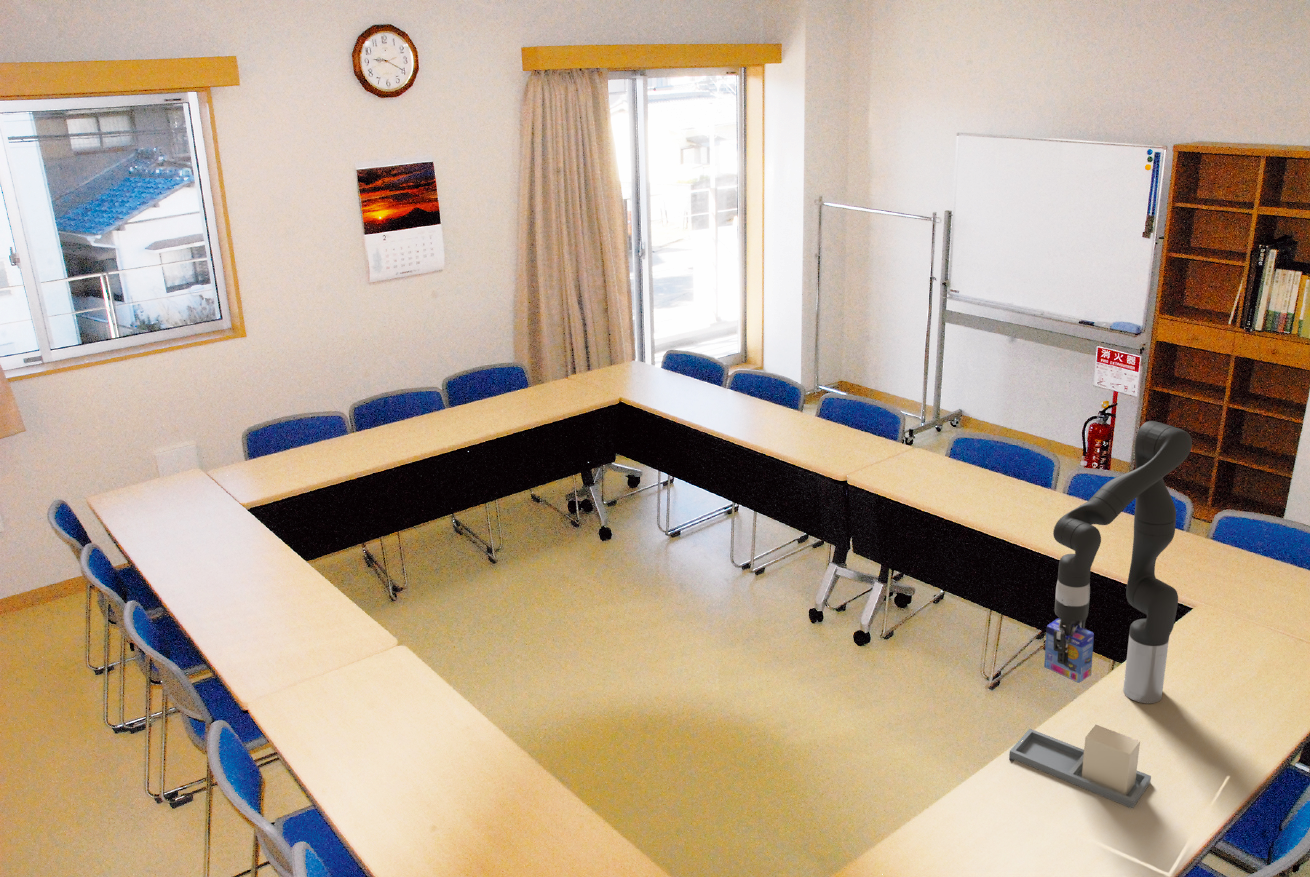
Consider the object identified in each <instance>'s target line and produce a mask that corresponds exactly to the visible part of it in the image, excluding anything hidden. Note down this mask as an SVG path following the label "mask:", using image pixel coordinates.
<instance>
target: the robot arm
mask: <svg viewBox="0 0 1310 877" xmlns="http://www.w3.org/2000/svg"><path fill="white" fill-rule="evenodd" d="M1192 439H1193V438H1192V436H1191V435H1190V433H1188V431H1185V430H1183V429H1182V428H1179V427H1175V426H1173V425H1171V424H1170V425H1168V424H1166V423H1162V422H1158V421H1157V420H1156V421H1154V420H1149V421H1148V420H1147V421H1146V422H1144V423H1143V424H1142V425H1141V426H1140V428H1138V431H1137V433H1136V437H1135V440H1134V458H1135V460H1134V461H1135V462H1134V463H1135V468H1134V470H1131V471H1129V472H1126V473H1124V474H1122V475H1120V476H1117V477H1115V478H1113V479H1110V480H1109V481H1107V482H1106V483H1105V484H1103V485H1102V486H1101V487H1100V488H1099V489H1098V490H1097V491H1096V492H1095V493H1094V494H1093V496H1091V497H1089V499H1088V500H1087V501H1086V502H1085V503H1083V504H1080V505H1079V506H1078V507H1075V508H1074V509H1072V510H1070V511H1069V512H1067V513H1065V514H1063V516H1061V517H1060V518H1059V519H1058V521H1057V522H1056V524H1055V525H1054V527H1053V538H1054V540H1055V541H1056V542H1057V543H1058V544H1060V545H1062V546H1064V547H1066V548H1068V549H1071V550H1072V551H1074V552H1075V553H1067V554H1064V555H1062V556H1061V557H1060V558H1059V563H1058V572H1057V581H1056V586H1055V596H1054V597H1055V599H1054V601H1055V602H1054V613H1055V615H1056V616H1057V617H1058V619H1061V621H1060V623H1059V631H1056V630H1055V631H1054V651H1057V652H1058V660H1057V661H1058V663H1060V664H1063V665H1066V664H1067V663H1068V651H1069V644H1070V643H1071V642H1072V638H1071V637H1072V636H1073V635H1074V634H1075V632H1076V631H1077V628H1080V627H1081V628H1084V629H1086V628H1085V627H1086V621H1087V618H1088V617H1089V608H1090V598H1091V597H1090V596H1091V595H1090V594H1091V586H1090V584H1091V579H1090V578H1091V573H1092V572H1091V570H1092V565H1093V563H1094V560H1095V558H1096V555H1097V553H1098V551H1099V548H1100V546H1101V543H1102V535H1101V532H1100V530H1099V529H1098V528H1097V527H1096V526H1095V525H1099V526H1108V525H1110V524H1111V523H1112V522H1114V521H1115V519H1116V518H1117V517H1118V516H1119V515H1120V514H1121V513H1123V511H1124V510H1125V509H1126V507H1128V505H1130V504H1131V503H1132V502H1133V501H1134V500H1135V506H1134V514H1133V515H1134V516H1133V517H1134V518H1133V541H1132V542H1133V543H1132V552H1131V559H1130V560H1131V561H1130V567H1129V573H1128V579H1127V583H1126V592H1125V594H1126V599H1127V603H1128V604H1129V605H1130V606H1132V608H1134V609H1136V610H1137V611H1139V612H1141V613H1142V614H1144V615H1145V616H1146V618H1139V619H1135V620H1134V621H1132V623H1131V624H1130V625H1129V631H1128V632H1129V633H1128V643H1127V652H1126V653H1127V654H1126V663H1125V669H1124V670H1125V671H1124V672H1125V673H1124V680H1123V694H1124V695H1125V696H1126V697H1127V698H1129V699H1130V700H1132V701H1135V702H1138V703H1141V704H1142V703H1143V704H1155V703H1158V702H1160V701H1161V700H1162V697H1163V691H1164V690H1163V689H1164V681H1165V675H1166V674H1165V672H1166V666H1167V657H1168V650H1169V649H1168V648H1169V641H1170V635H1171V634H1172V632H1173V629H1174V626H1175V621H1176V617H1177V616H1176V615H1177V610H1178V605H1179V594H1178V591H1177V590H1176V588H1174V587H1173V586H1171V585H1169V584H1167V582H1164V581H1162V580H1160V579H1158V578H1157V577H1156V574H1155V572H1156V569H1155V568H1156V561H1157V558H1158V557H1159V556H1160V555H1161V554H1162V553H1163V551H1164V550H1165V549H1166V548H1167V547H1169V545H1170V543H1172V541H1173V540H1174V536H1175V532H1176V522H1177V509H1176V506H1175V504H1174V503H1175V502H1174V500H1173V498H1172V496H1171V493H1170V491H1169V489H1168V487H1167V485H1166V483H1165V480H1164V477H1166V476H1167V475H1168V474H1169V473H1172V471H1174V470H1175V469H1176V468H1177V467H1179V466H1180V465H1181V464H1182V463H1184V461H1185V460H1186V459H1187V458H1188V456H1189V454H1191V450H1192V448H1193V447H1192V446H1193V440H1192ZM1072 625H1074V627H1073V626H1072ZM1069 635H1070V639H1069V640H1068V639H1066V636H1069Z"/></svg>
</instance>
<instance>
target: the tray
mask: <svg viewBox="0 0 1310 877" xmlns="http://www.w3.org/2000/svg"><path fill="white" fill-rule="evenodd" d="M1022 740H1023V741H1022ZM1021 741H1022V742H1021ZM1008 755H1009V757H1008V758H1009V761H1012V762H1015V761H1017V762H1019V763H1021V764H1024V765H1027V766H1029V767H1031V768H1033V769H1036V770H1038V771H1041V772H1043V773H1046V774H1048V775H1050V776H1053V777H1055V778H1058V779H1060V780H1062V781H1065V782H1067V783H1070V784H1072V785H1074V786H1076V787H1080V788H1081V789H1084V790H1087V791H1088V792H1091V793H1093V794H1096V795H1099V796H1100V797H1104V798H1106V799H1108V800H1111V801H1112V802H1115V803H1118V804H1121V805H1123V806H1124V807H1127V808H1130V809H1131V810H1132V809H1134V807H1135V806H1136V804H1137V803H1138V802H1139V800H1140V799H1141V797H1142V796H1143V795H1144V793H1145V791H1146V790H1147V788H1148V787H1149V786H1150V785H1151V781H1152V780H1151V779H1152V776H1151V775H1149V774H1147V773H1144V772H1141V771H1139V770H1137V772H1136V781H1135V785H1134V786H1133V788H1132V789H1131V791H1130V792H1129V793H1128V795H1127V796H1126V795H1123V794H1121V793H1118V792H1116V791H1113V790H1111V789H1109V788H1106V787H1104V786H1101V785H1099V784H1096V783H1094V782H1091V781H1089V780H1087V779H1084V778H1082V768H1083V757H1084V749H1083V748H1081V747H1078V746H1075V745H1073V744H1070V743H1068V742H1066V741H1063V740H1060V739H1057V738H1054V737H1053V736H1050V735H1047V734H1046V733H1043V732H1040V731H1038V730H1034V729H1032V728H1029V729H1028V730H1027V731H1026V732H1025V733H1024V735H1023V736H1021V738H1020V739H1019V740H1017V742H1016V743H1015V744H1014V745H1013V747H1012V748H1011V749H1010V750H1009V754H1008Z"/></svg>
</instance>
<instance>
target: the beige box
mask: <svg viewBox="0 0 1310 877" xmlns="http://www.w3.org/2000/svg"><path fill="white" fill-rule="evenodd" d="M1140 744H1141V740H1139V739H1135V738H1133V737H1130V736H1129V735H1128V736H1127V735H1125V734H1123V733H1120V732H1117V731H1115V730H1112V729H1109V728H1107V727H1104V726H1102V725H1098V724H1095V725H1094V726H1093V727H1092V728H1091V729H1090V731H1089V732H1088V733H1087V735H1085V738H1084V749H1083V750H1084V757H1083V768H1082V778H1084V779H1087V780H1089V781H1091V782H1094V783H1096V784H1099V785H1101V786H1104V787H1106V788H1109V789H1111V790H1113V791H1116V792H1118V793H1121V794H1123V795H1126V796H1127V795H1128V793H1129V792H1130V791H1131V789H1132V788H1133V786H1134V785H1135V781H1136V772H1137V771H1138V762H1139V753H1140Z"/></svg>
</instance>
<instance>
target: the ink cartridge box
mask: <svg viewBox="0 0 1310 877" xmlns="http://www.w3.org/2000/svg"><path fill="white" fill-rule="evenodd" d="M1060 621H1061V619H1060V618H1055V620H1053V621H1052V622H1050V623H1049V624H1047V626H1046V630H1045V631H1046V633H1045V647H1044V648H1045V649H1044V650H1045V651H1044V668H1045V669H1047V670H1049V671H1052V672H1053V673H1056V674H1058V675H1061V676H1063V677H1065V678H1067V679H1069V680H1071V681H1073V682H1075V683H1078V684H1080V683H1082V682H1083V681H1085V680H1087V679H1088V678H1089V677H1091V676H1092V669H1093V668H1092V666H1093V653H1094V651H1093V650H1094V641H1095V640H1094V638H1095V634H1094V632H1093V631H1090V630H1088V629H1087V628H1085V629H1084V628H1081V627H1080V628H1077V631H1076V632H1075V634H1074V635H1073V636H1072V637H1071V638H1072V642H1071V643H1070V644H1069V651H1068V663H1067V664H1066V665H1063V664H1060V663H1058V661H1057V660H1058V652H1057V651H1054V631H1055V630H1056V631H1059V623H1060ZM1072 626H1073V627H1074V625H1072ZM1066 639H1068V640H1069V639H1070V635H1069V636H1066Z"/></svg>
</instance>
